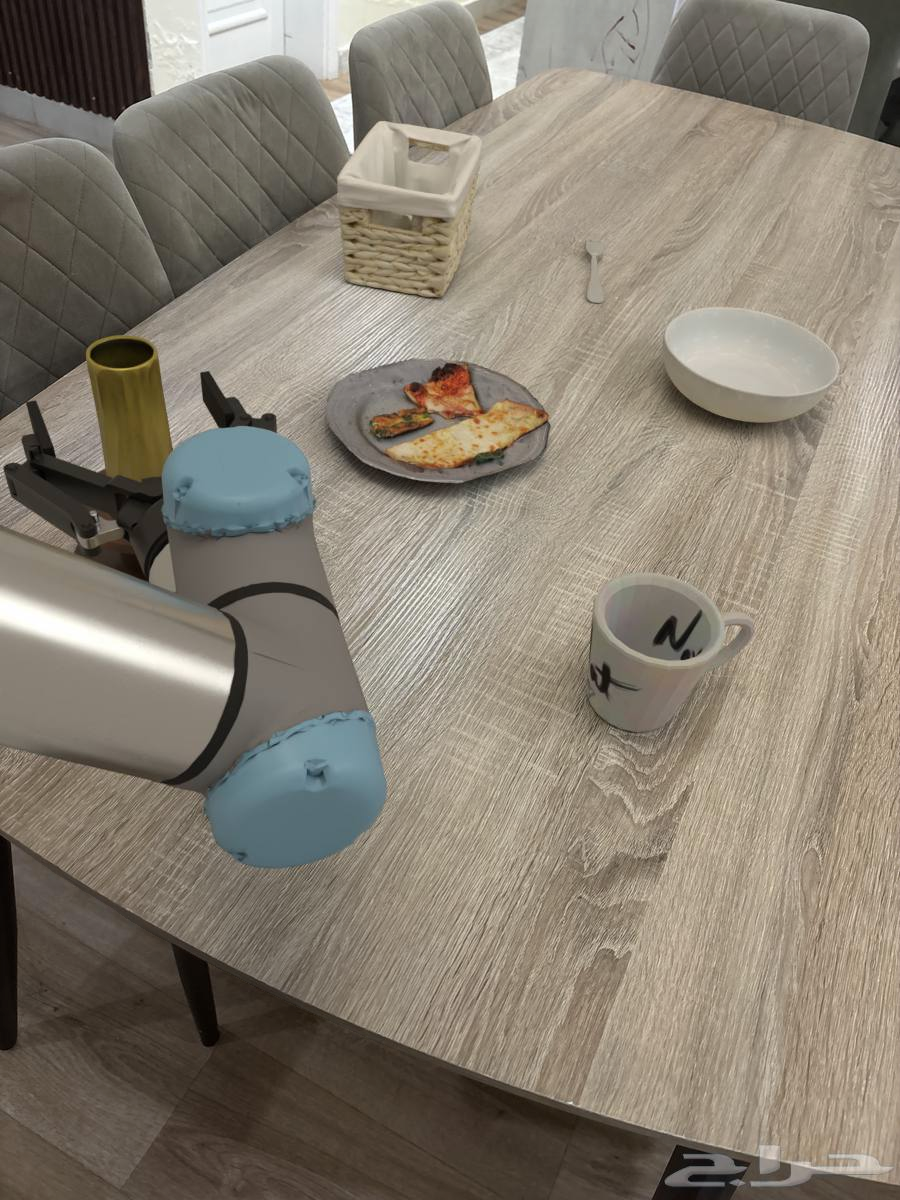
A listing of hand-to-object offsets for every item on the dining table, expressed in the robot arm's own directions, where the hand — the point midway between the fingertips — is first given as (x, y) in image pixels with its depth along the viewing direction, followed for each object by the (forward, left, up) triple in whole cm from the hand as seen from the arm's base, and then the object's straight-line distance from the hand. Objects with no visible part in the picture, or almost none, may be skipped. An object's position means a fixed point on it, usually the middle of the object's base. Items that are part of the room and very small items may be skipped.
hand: (123, 400), depth 76 cm
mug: (+39, -27, -16) cm, 51 cm away
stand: (+1, -2, -16) cm, 16 cm away
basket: (+41, +56, -16) cm, 71 cm away
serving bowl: (+71, +15, -16) cm, 75 cm away
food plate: (+32, +14, -16) cm, 39 cm away
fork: (+67, +50, -16) cm, 86 cm away
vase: (0, -2, -9) cm, 9 cm away
